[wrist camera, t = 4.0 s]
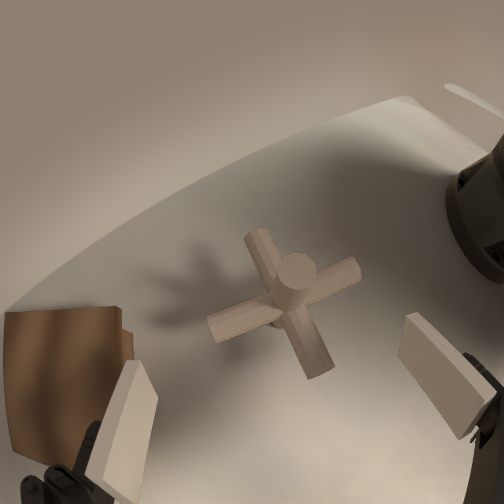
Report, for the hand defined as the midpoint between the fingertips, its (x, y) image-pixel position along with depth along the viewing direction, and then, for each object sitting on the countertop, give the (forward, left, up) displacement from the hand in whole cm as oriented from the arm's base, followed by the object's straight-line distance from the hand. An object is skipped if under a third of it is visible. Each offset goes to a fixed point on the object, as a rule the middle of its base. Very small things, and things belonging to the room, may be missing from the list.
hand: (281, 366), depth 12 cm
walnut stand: (+17, +2, -8) cm, 19 cm away
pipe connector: (-1, -4, -9) cm, 10 cm away
